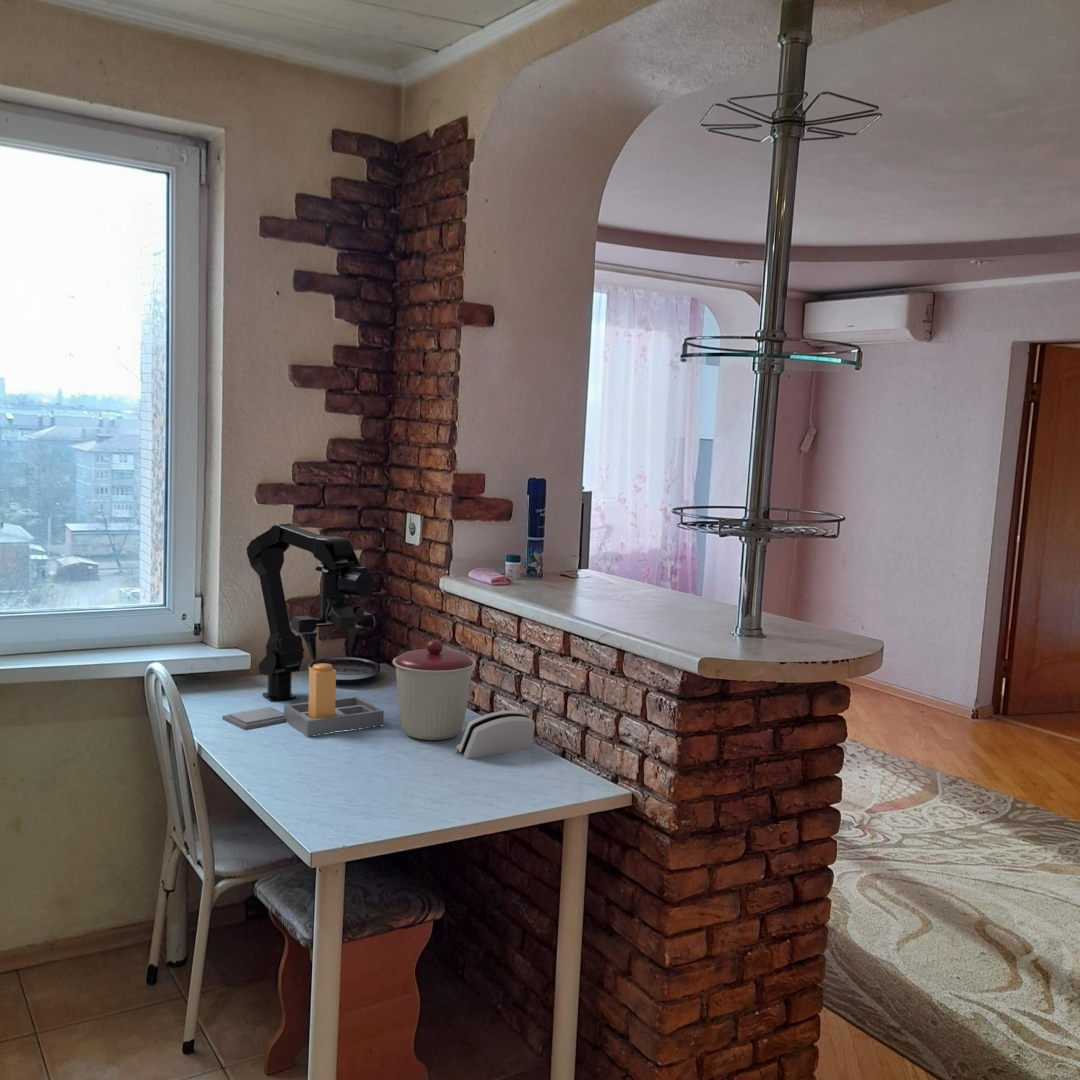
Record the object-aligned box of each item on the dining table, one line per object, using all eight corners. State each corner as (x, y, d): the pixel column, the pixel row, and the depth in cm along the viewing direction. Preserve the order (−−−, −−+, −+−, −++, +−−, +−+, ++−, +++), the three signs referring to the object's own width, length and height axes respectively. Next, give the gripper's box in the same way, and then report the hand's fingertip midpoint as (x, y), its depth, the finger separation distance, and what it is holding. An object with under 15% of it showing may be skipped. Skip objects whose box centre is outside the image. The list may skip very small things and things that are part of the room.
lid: (222, 719, 233) (222, 713, 233) (270, 710, 241) (270, 705, 241) (244, 729, 226) (244, 724, 226) (292, 720, 234) (292, 715, 234)
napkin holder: (519, 740, 226) (530, 702, 222) (530, 753, 223) (541, 715, 219) (453, 752, 216) (463, 712, 213) (464, 765, 213) (474, 725, 209)
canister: (410, 718, 239) (412, 629, 237) (483, 727, 235) (487, 636, 232) (377, 740, 222) (379, 644, 220) (456, 750, 217) (459, 652, 215)
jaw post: (308, 722, 229) (309, 664, 228) (327, 720, 232) (328, 662, 230) (315, 728, 225) (316, 668, 224) (334, 725, 228) (336, 666, 226)
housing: (283, 720, 234) (284, 705, 233) (357, 710, 244) (357, 696, 244) (307, 737, 222) (307, 721, 222) (383, 726, 233) (383, 710, 232)
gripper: (309, 600, 226) (307, 669, 228) (386, 595, 237) (384, 661, 239) (290, 592, 235) (289, 659, 237) (365, 587, 246) (364, 652, 248)
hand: (332, 658), depth 240 cm, fingers open, 9 cm apart
